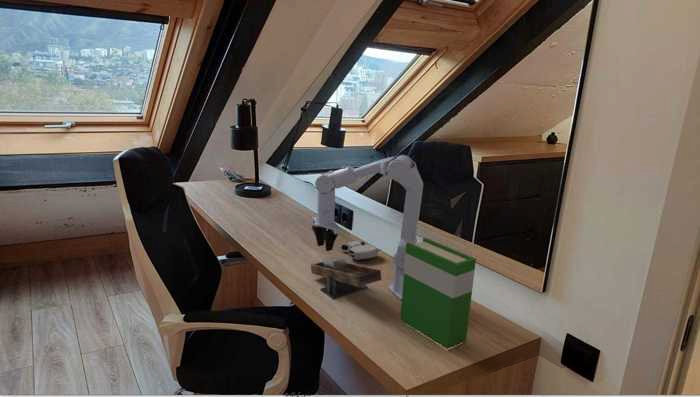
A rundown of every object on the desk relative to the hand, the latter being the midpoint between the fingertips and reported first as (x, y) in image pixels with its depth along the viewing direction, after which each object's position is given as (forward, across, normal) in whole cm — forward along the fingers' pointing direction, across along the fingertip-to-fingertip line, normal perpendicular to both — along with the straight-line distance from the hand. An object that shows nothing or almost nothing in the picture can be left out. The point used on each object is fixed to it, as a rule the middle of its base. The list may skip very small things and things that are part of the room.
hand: (324, 247), depth 157 cm
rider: (+6, +6, 0) cm, 8 cm away
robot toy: (+11, -8, +22) cm, 26 cm away
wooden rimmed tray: (+6, +12, 0) cm, 13 cm away
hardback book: (+11, +45, +6) cm, 47 cm away
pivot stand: (+10, +12, 0) cm, 16 cm away
